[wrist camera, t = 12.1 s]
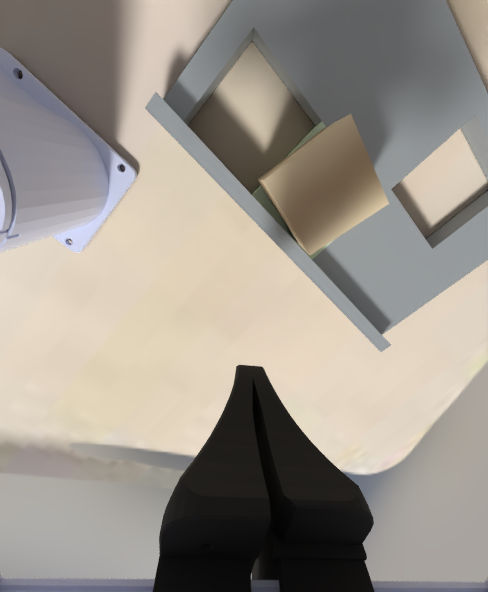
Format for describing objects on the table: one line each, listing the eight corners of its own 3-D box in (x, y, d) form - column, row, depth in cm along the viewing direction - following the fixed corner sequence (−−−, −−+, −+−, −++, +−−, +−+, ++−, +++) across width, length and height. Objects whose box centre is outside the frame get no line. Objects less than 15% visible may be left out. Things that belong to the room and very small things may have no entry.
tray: (159, 119, 16) (144, 108, 14) (348, -145, 12) (380, -238, 9) (364, 332, 24) (380, 352, 21) (523, 216, 20) (569, 222, 17)
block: (257, 179, 17) (263, 180, 13) (323, 128, 16) (350, 113, 12) (295, 240, 19) (309, 255, 15) (357, 198, 17) (389, 203, 14)
